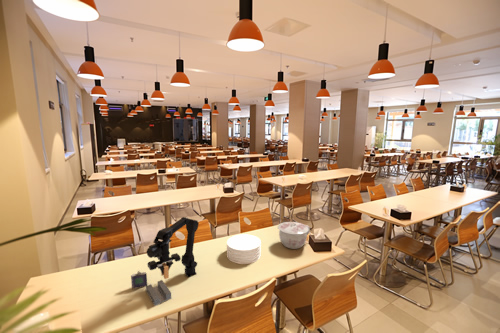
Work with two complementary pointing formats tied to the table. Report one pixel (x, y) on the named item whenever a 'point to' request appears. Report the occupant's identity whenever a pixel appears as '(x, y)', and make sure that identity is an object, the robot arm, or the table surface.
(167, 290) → the rail
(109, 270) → the table surface
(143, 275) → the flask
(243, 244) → the plate stack
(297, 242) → the chamber pot
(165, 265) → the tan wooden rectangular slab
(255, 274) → the table surface
